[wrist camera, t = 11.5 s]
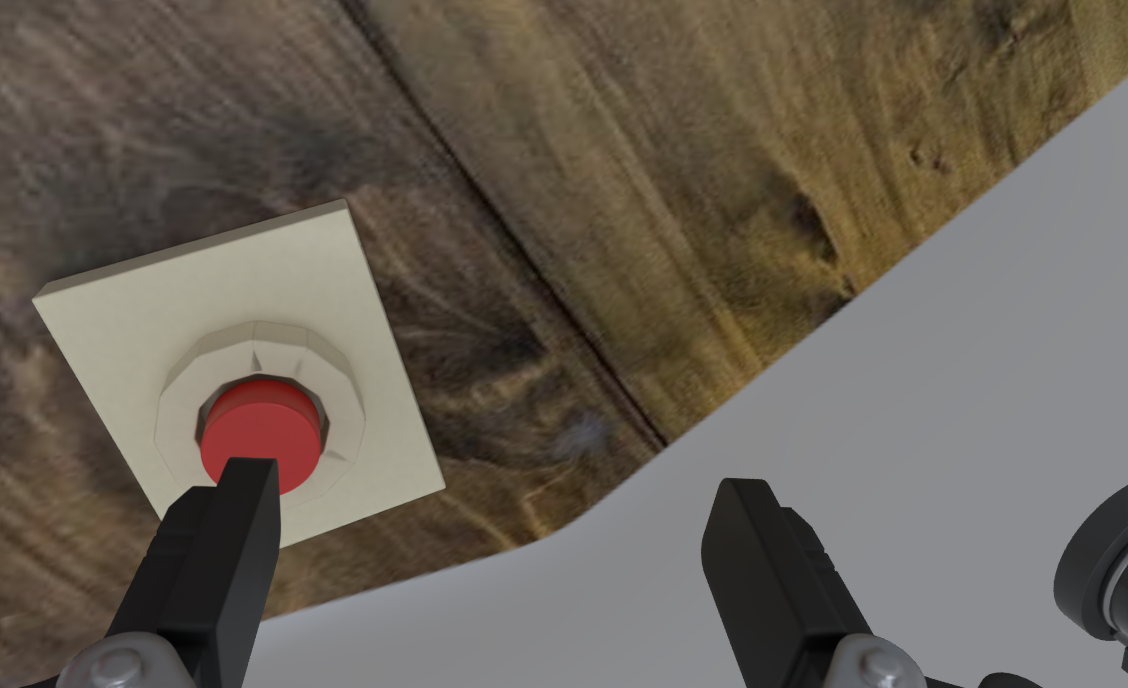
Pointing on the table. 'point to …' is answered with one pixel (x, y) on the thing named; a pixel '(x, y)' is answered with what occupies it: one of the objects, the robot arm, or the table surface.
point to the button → (263, 430)
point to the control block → (250, 360)
